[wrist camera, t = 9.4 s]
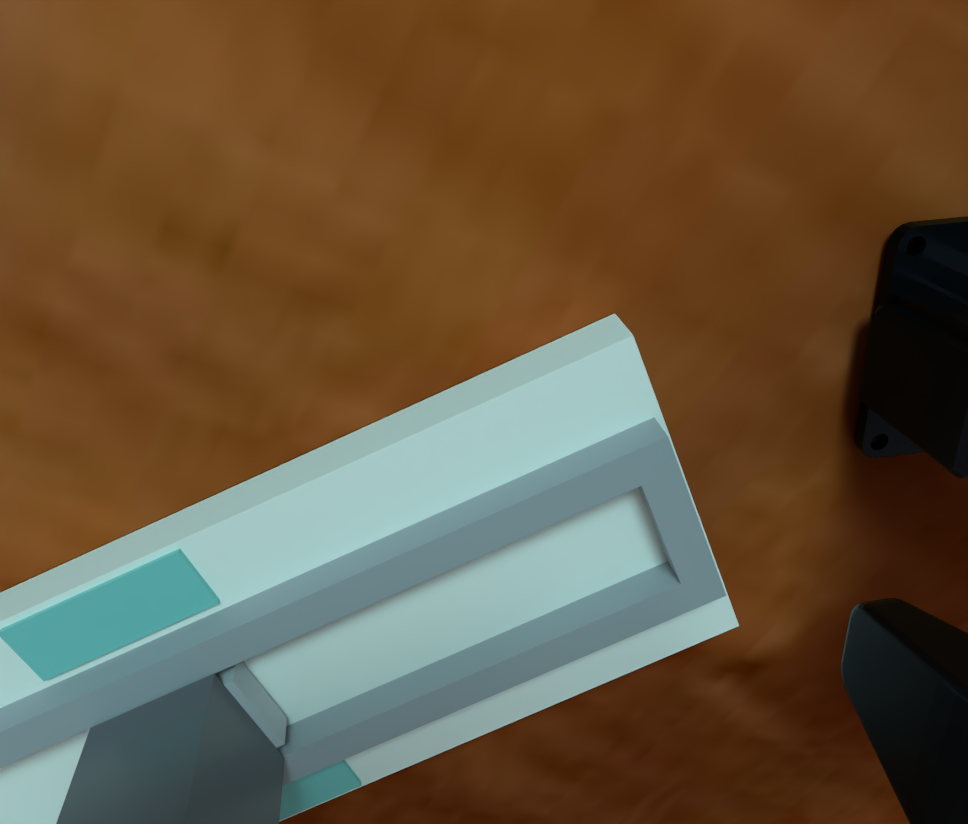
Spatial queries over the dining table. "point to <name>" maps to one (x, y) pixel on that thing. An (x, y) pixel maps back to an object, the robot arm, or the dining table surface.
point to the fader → (185, 759)
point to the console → (385, 582)
